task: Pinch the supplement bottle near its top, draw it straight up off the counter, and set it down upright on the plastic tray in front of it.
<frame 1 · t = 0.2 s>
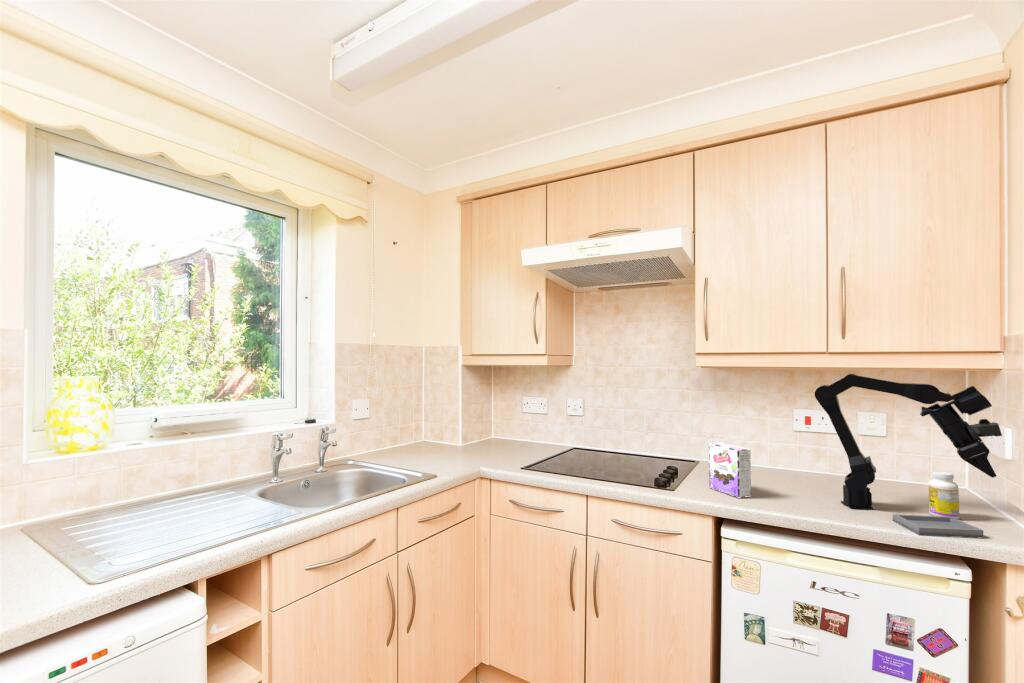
hand: (992, 473, 133), 15 cm above the table, tool tilted 30°, fingers open, 9 cm apart
supplement bottle: (944, 517, 141), on the table
candy box: (729, 493, 167), on the table
tray: (935, 529, 131), on the table
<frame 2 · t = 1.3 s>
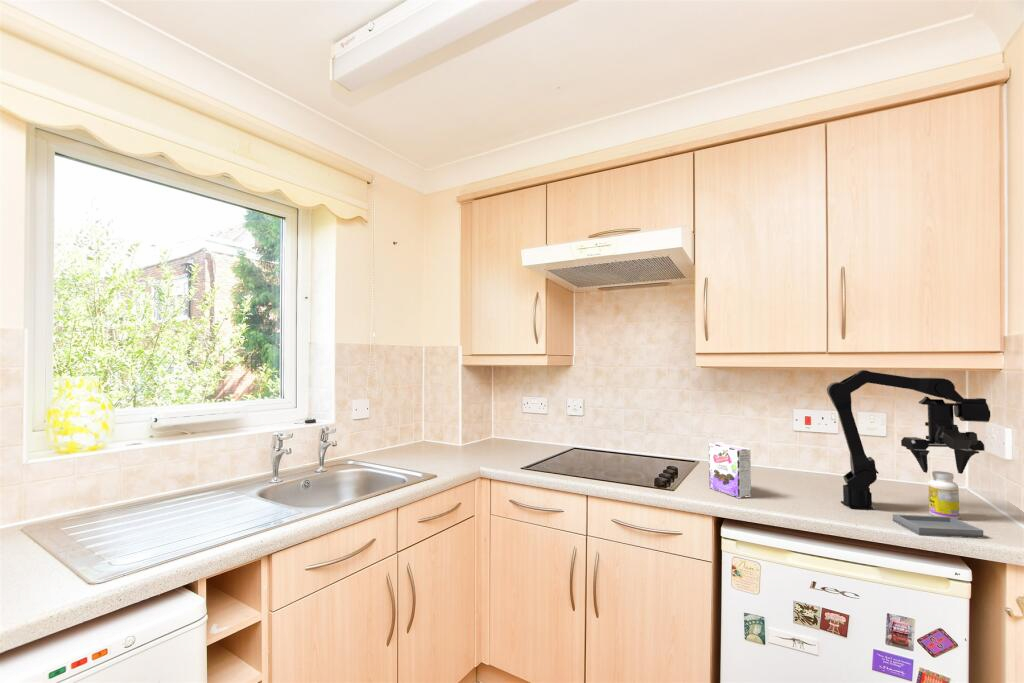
hand: (942, 472, 141), 13 cm above the table, tool pointing down, fingers open, 9 cm apart
nothing on the table moved.
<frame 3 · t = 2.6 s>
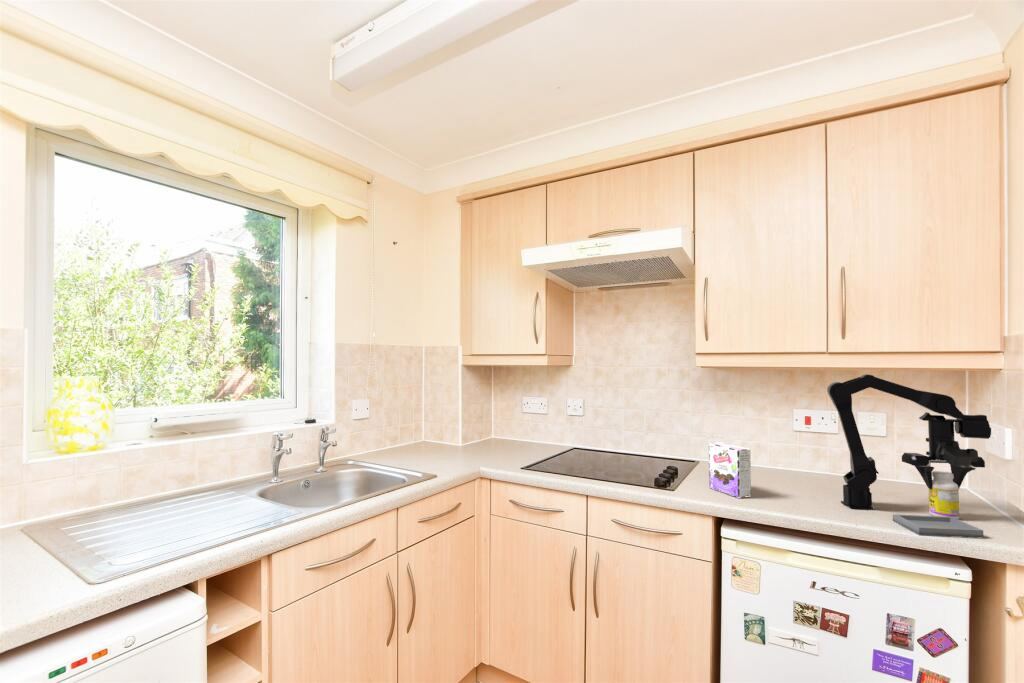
hand: (943, 489, 141), 8 cm above the table, tool pointing down, fingers closed on supplement bottle, 7 cm apart
supplement bottle: (944, 517, 141), on the table, touching gripper
everything else where it was.
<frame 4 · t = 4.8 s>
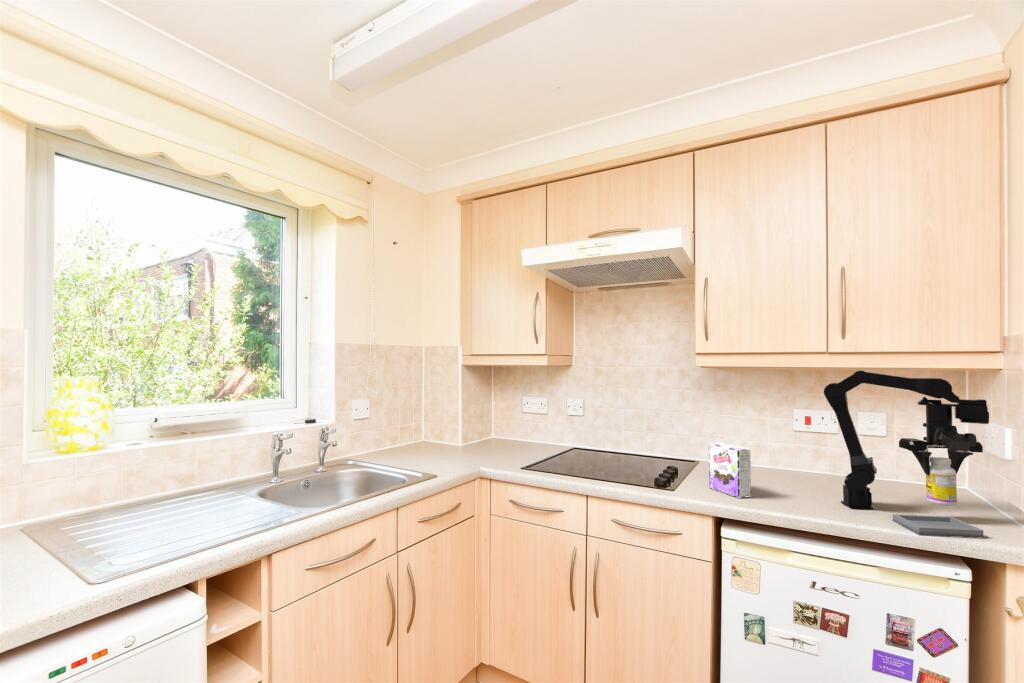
hand: (940, 474, 139), 13 cm above the table, tool pointing down, fingers closed on supplement bottle, 7 cm apart
supplement bottle: (941, 503, 139), point 5 cm above the table, touching gripper
everything else where it was.
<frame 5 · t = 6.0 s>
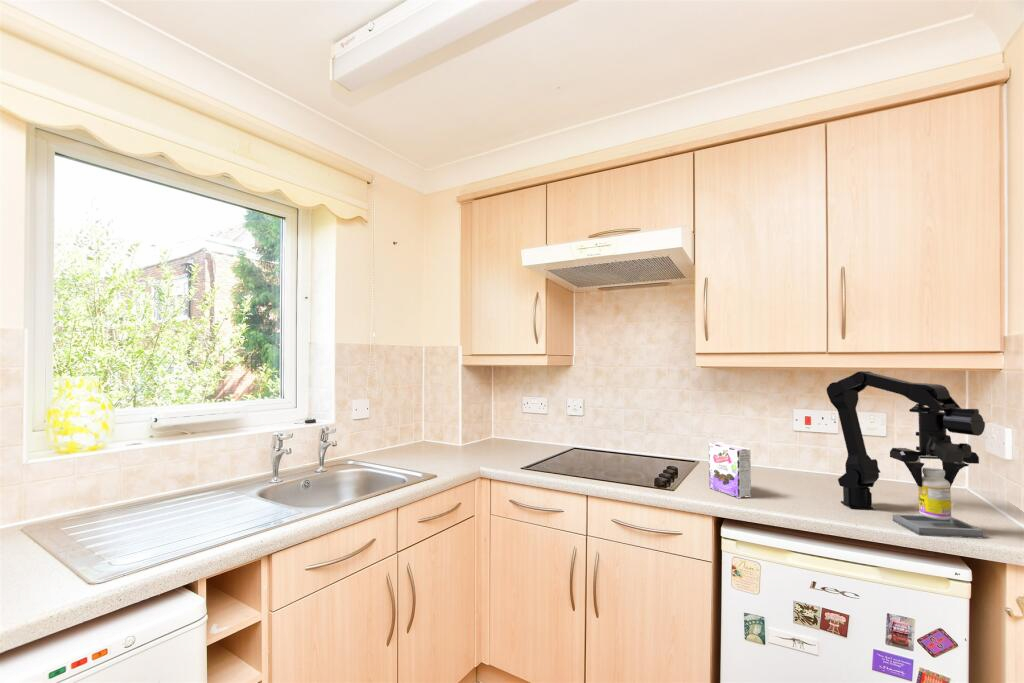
hand: (933, 486, 131), 11 cm above the table, tool pointing down, fingers closed on supplement bottle, 7 cm apart
supplement bottle: (934, 517, 131), point 3 cm above the table, touching gripper
everything else where it was.
when the fingers open (10 cm above the table, at t = 7.1 s): supplement bottle drops 2 cm, resting on tray.
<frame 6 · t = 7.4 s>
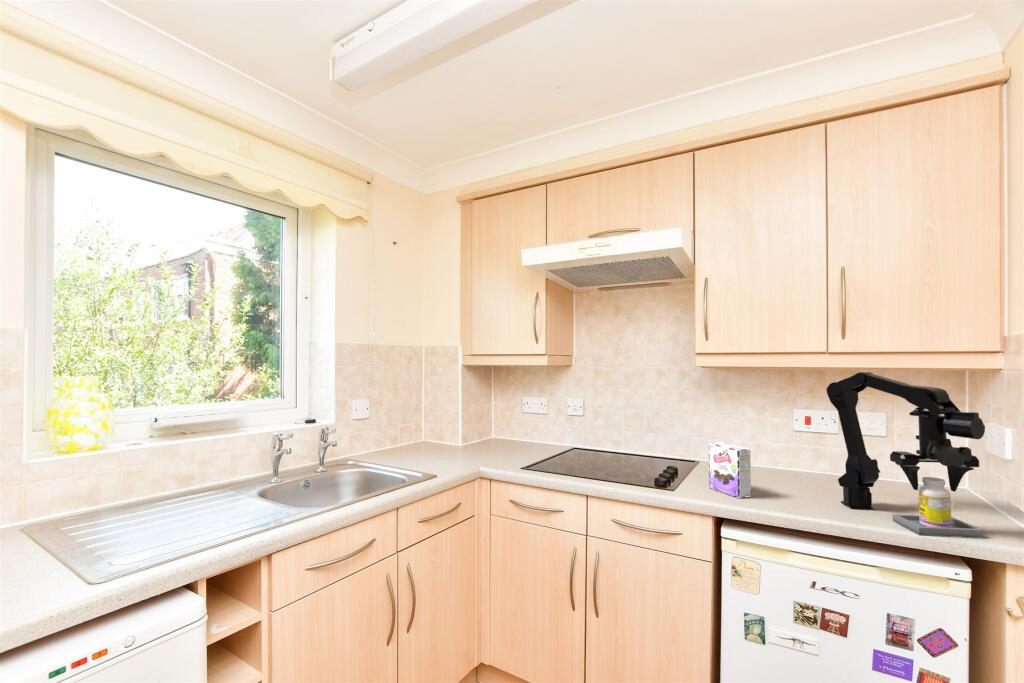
hand: (934, 490, 131), 10 cm above the table, tool pointing down, fingers open, 9 cm apart
supplement bottle: (935, 526, 131), point 1 cm above the table, touching tray
everything else where it was.
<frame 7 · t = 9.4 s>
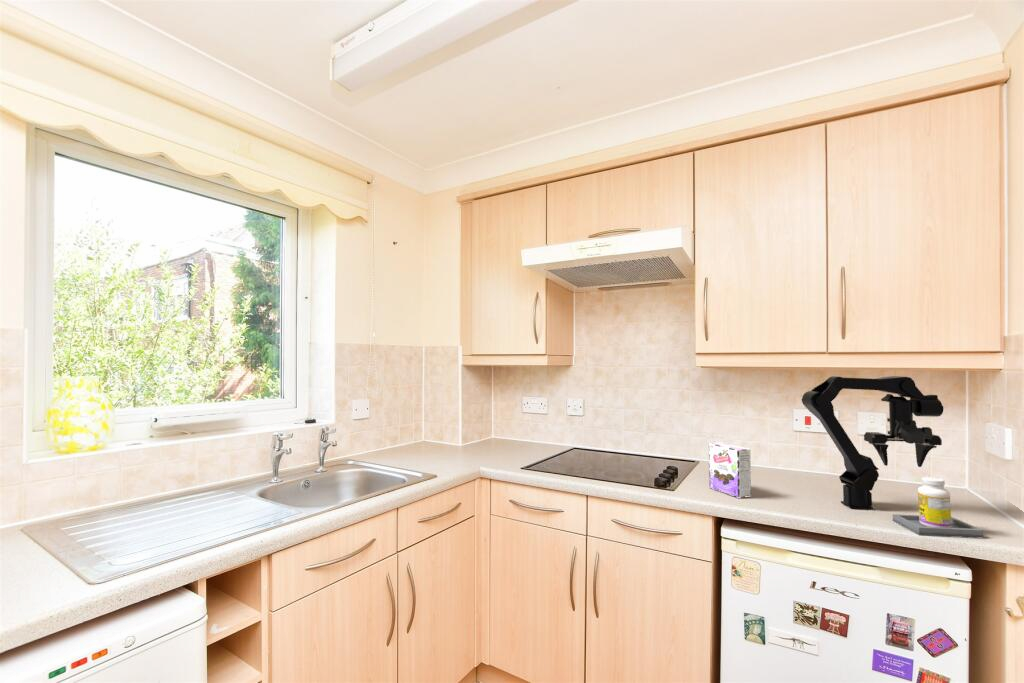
hand: (902, 466, 149), 13 cm above the table, tool pointing down, fingers open, 9 cm apart
nothing on the table moved.
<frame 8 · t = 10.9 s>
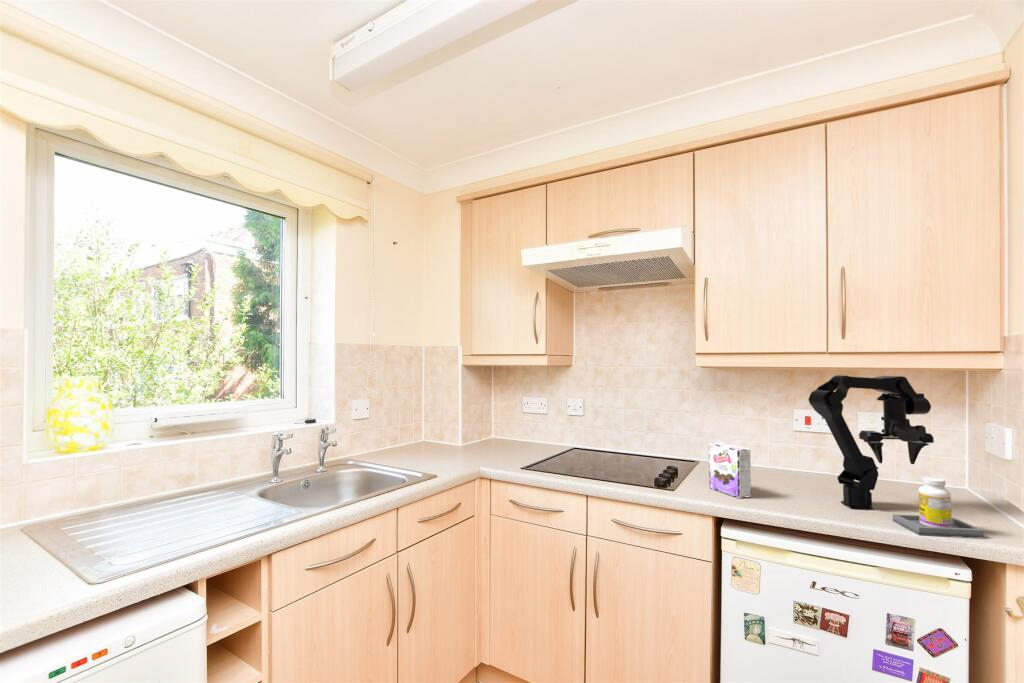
hand: (896, 463, 153), 13 cm above the table, tool pointing down, fingers open, 9 cm apart
nothing on the table moved.
at the end: supplement bottle inside the target area on the tray (0.1 cm from its centre), point 0.6 cm above the tray's base; supplement bottle tilted 0°; the gripper is holding nothing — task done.
